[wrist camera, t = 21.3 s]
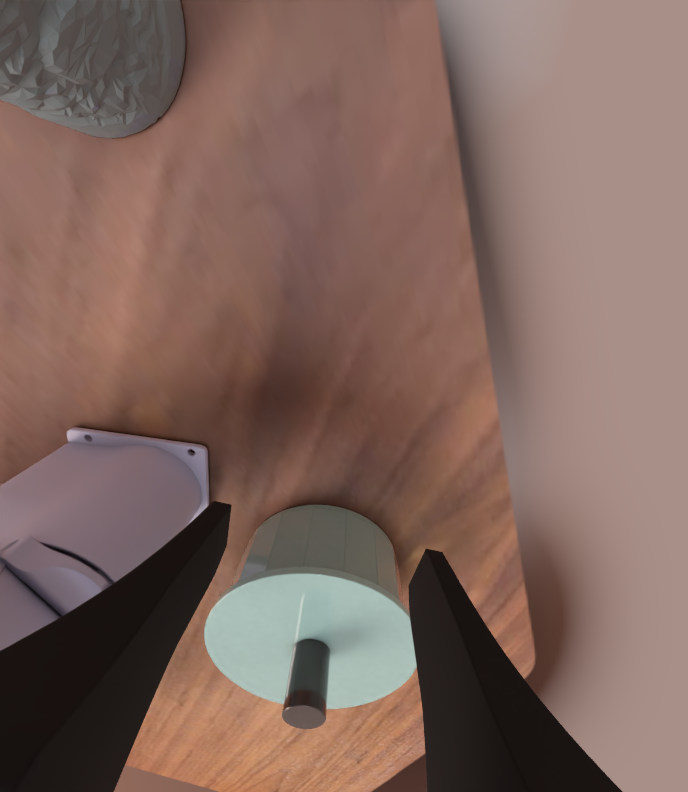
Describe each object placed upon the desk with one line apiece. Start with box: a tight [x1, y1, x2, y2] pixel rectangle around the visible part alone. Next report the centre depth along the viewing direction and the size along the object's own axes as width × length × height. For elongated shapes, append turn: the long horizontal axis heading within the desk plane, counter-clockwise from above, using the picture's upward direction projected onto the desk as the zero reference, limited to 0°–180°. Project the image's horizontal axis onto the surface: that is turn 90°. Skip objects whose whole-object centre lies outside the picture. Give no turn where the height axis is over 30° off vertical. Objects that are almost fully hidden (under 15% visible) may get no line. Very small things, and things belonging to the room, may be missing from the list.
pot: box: [231, 505, 403, 603], centre depth 24 cm, size 12×12×6 cm
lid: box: [204, 566, 417, 729], centre depth 20 cm, size 14×14×4 cm
